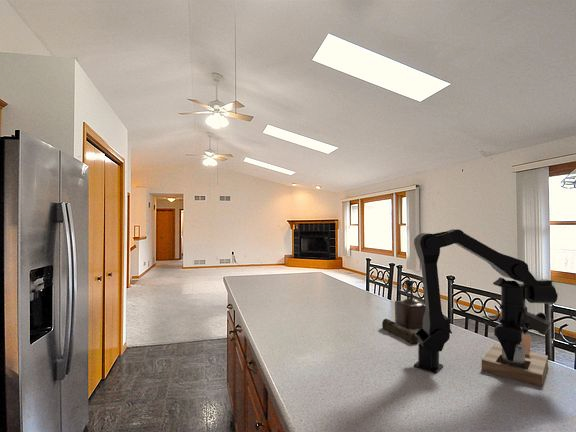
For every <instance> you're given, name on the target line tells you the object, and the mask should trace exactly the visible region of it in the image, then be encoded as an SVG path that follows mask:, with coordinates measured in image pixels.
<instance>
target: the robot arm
mask: <svg viewBox="0 0 576 432" xmlns="http://www.w3.org/2000/svg"><path fill="white" fill-rule="evenodd" d="M454 244H455V245H456V246H458V247H460V248H462V249H464V250H465V251H466V252H469V253H470V254H472V255H474V256H476V257H478V258H479V259H481V260H483V261H485V262H486V263H487V264H489V266H490V267H491V268H492V269H493V270H495V271H496V272H497V273H498V274H500V276H503V277H498V279H497V280H495V281H493V283H492V284H493V285H494V286H497V287H500V289H501V291H500V294H501V296H500V298H501V299H500V304H499V309H500V313H501V314H500V317H501V318H500V319H499V324H498V325H496V327H494V330H493V332H494V333H493V334H494V336H495V337H496V339H497V340H498V342H499V343H500V345H501V346H502V348H503V350H504V352H505V354H506V356H507V358H508V360H509V361H513V359H514V354H515V350H516V345H517V344H518V343H520V342H522V340H523V334H526V333H528V332H529V329H532V330H534V331H536V332H538V334H540V335H543V336H545V335H546V334H547V333H548V331H549V328H550V326H551V323H552V322H551V320H549V319H548V318H547V314H546V313H544V312H541V311H540V312H538V313H536V314H535V313H531V312H529V311H528V307H527V305H526V301H527V302H528V303H529V304H550V305H554V304H555V303H557V300H558V296H559V295H558V293H557V290H556V287H554V285H553V281H552V280H550V279H536V278H535V277H534V276H533V274H532V272H531V271H530V269H529V265H528V264H527V263H526V261H524V260H521V259H518V258H517V257H514V256H511V255H508V254H503V253H501V252H498V251H497V250H495V249H494V248H492V247H490V246H489V245H487V244H484V243H482V242H481V241H479V240H477V239H476V238H474V237H472V236H470V235H469V234H467V233H465V232H464V231H463V230H461V229H449V230H447V231H441V232H440V231H439V232H436V233H429V232H428V233H425V232H421V233H419V234H417V235H416V236H415V238H414V240H413V245H414V249H415V252H416V254H417V255H416V256H418V259H419V261H420V266H421V274H422V275H421V276H422V287H423V295H424V297H423V298H424V304H425V308H426V309H425V313H424V317H423V326H422V328H421V329H418V330H417V331H416V332H414V333H415V337H416V340H417V341H418V342H419V343H417V347H418V348H417V354H418V355H417V361H416V362H415V363H414V364H413V367H415V368H418V369H421V370H424V371H428V372H430V373H433V374H437V373H439V372H440V370H441V369H443V368H444V364H441V363H440V352H442V351H443V349H444V346H445V345H446V343H447V342H448V341H449V340H450V337H451V335H450V334H453V331H452V330H451V319H450V318H449V317H448V316H447V315H445V314H443V309H442V303H441V302H442V301H441V292H440V282H439V281H440V280H439V271H438V270H439V269H438V261H439V258H440V253H441V248H444V247H448V246H451V245H454ZM504 277H505V278H509V279H512V280H506V279H505V278H504ZM519 282H521V283H519Z"/></svg>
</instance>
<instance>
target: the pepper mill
mask: <svg viewBox="0 0 576 432" xmlns="http://www.w3.org/2000/svg"><path fill="white" fill-rule="evenodd" d="M413 284H414V280H412V279H409V278H408V279H406V280H404V285H405V286H406V289H405V290H403V292H405V293H410V297H408V298H406V299H404V300H396V301H394V323H395V324H396V325H398V326H400V327H402V328H404V329H407V330H420V329H421V328H422V326H423V317H424V313H425V309H426V308H425V302H424V301H421V300H420V297H418V298H415V297H414V296H413V295H414V294H413V293H414V287H413Z"/></svg>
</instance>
